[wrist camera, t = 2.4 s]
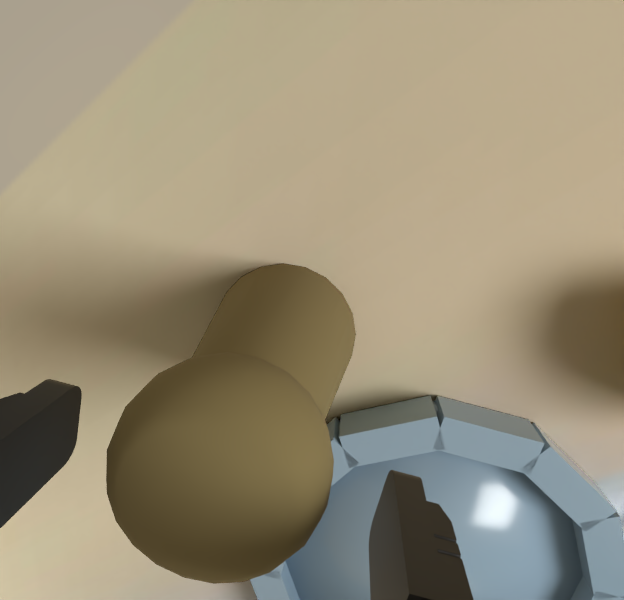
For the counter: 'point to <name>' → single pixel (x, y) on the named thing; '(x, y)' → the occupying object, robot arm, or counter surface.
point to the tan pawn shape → (237, 433)
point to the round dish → (462, 506)
